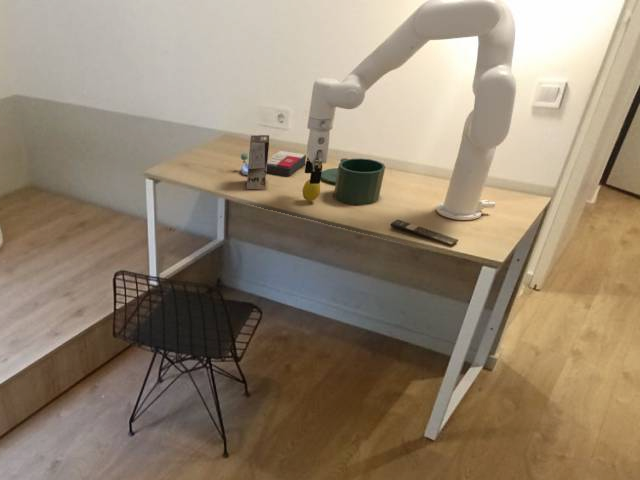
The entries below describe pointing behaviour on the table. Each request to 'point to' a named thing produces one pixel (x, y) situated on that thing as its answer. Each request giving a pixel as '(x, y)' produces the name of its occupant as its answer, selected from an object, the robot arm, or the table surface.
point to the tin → (359, 181)
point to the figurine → (245, 167)
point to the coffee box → (258, 161)
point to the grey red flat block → (285, 163)
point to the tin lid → (330, 174)
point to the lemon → (311, 191)
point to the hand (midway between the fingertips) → (312, 178)
